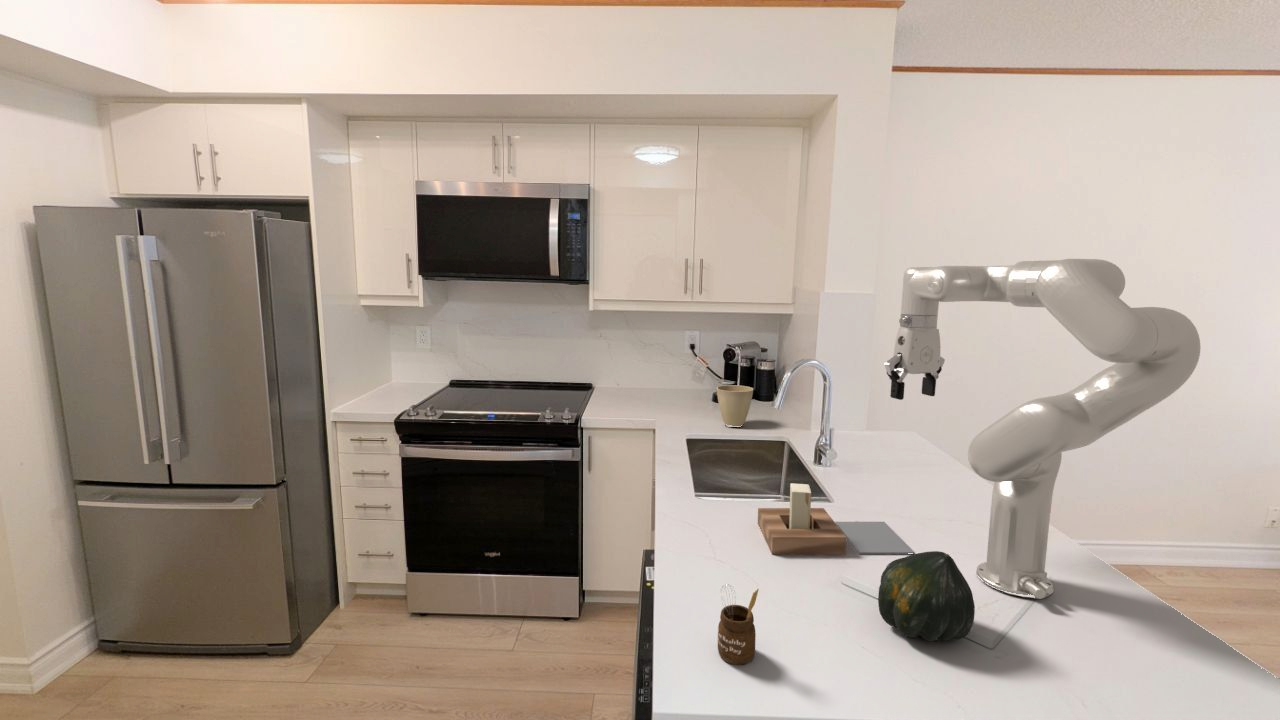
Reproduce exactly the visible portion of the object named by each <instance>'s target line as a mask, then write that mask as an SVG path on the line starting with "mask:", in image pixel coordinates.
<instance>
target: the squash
mask: <svg viewBox="0 0 1280 720" xmlns="http://www.w3.org/2000/svg"><path fill="white" fill-rule="evenodd" d="M877 595H878V597H877V603H878V609H879V613H880V616H881V618H882V620H883V621H884V622H885V623H886V624H887V625H888V626H890V627H892V628H894V629H897V630H898V631H899V632H900V633H901V635H903V636H907V637H909V638H916V637H918V636H921V637H922V638H923V640H925V641H928V642H936V640H937V641H948V640H953V641H955V640H961V639H963V638H965V637H966V636H968V635H969V634H970V633H971V632H970V631H971V630H972V628H973V625H974V620H975V614H976V613H975V612H976V611H975V609H976V608H975V601H974V596H973V591H972V590H971V587H970V584H969V583H968V581H967V580H966V578H965V576H964V575H963V573H962V572H961V570H960V569H959V567H958V565H957V564H956V562H955V560H954V559H953V558H952V556H950V554H948V553H946V552H944V551H938V550H936V551H935V550H933V551H924V552H918V553H915V554H914V555H907V556H904V557H900V558H898V559H895V560H892V561H890V562H889V563H888V564H887V565H886V566H885V569H884V570H883V572H882V573H881V576H880V585H879V587H878V594H877Z"/></svg>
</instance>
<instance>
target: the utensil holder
mask: <svg viewBox="0 0 1280 720" xmlns="http://www.w3.org/2000/svg"><path fill="white" fill-rule="evenodd" d="M728 587H730V591H731V593H732V594H735V593H736V591H735V588H734V587H732V585H731V584H729V583H728V584H723V585H721V589H720V592H722V591H723V590H726V589H727V591H728V593H730V591H729V588H728ZM722 589H723V590H722ZM727 591H726V592H725V593H726V595H728V596H729V598H731V597H732V598H731V599H732V602H731V601H730V602H729V603H730V605H729V603H727V604H728V605H726V603H725V602H726V600H725V597H724V596H721V598H720V599H721V601H722V606H723V608H722V609H721V611H720V616H719V617H720V618H719V619H720V620H719V623H718V626H717V652H718V654H719V656H720V658H721V659H722V660H724V661H725V662H727V663H729V664H731V665H745V664H746V665H747V664H748V663H750V662H751V661H752V660H753V659H754V657H755V653H756V635H757V634H756V628H755V627H756V626H755V623H754V614H753V612H752V610H753V608H754V606H755V603H756V602H757V601H756V600H757V597H758V593H759V588H757V589H756V590H755V591H754V592H753V593H752V596H751V599H750V601H749V605H748V607H746V606H743V605H740V604H737V601H734V600H736V598H737V597H736V595H734V596H731V594H728V593H727ZM730 596H731V597H730ZM733 597H734V598H733ZM727 601H729V600H728V598H727ZM733 603H734V604H733Z"/></svg>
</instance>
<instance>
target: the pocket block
mask: <svg viewBox="0 0 1280 720" xmlns="http://www.w3.org/2000/svg"><path fill="white" fill-rule="evenodd" d="M789 515H790V507H758V508H757V525H758V527H760V528H759V529H761V530H760V532H761V534H762V536H763V538H764V540H765V543H766V545H767V546H768V550H769V551H770V553H771V555H774V556H775V555H779V556H781V555H783V556H784V555H785V556H786V555H792V556H793V555H794V556H795V555H802V556H803V555H807V556H809V555H812V556H813V555H827V556H828V555H839V556H840V555H842V556H843V555H846V554H847V553H846V551H847V538H846V536H845V535H844V533H843V532H842V531H841V530H840V528H839V527H838V526H837V525H836V523H835V522H836V521H834V519H833V518H832V517H831V516H830V515H829V513H828V512H827V510H826V509H825V508H824V507H811V509H810V529H789Z"/></svg>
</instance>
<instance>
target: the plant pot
mask: <svg viewBox="0 0 1280 720" xmlns="http://www.w3.org/2000/svg"><path fill="white" fill-rule="evenodd" d="M753 394H754V387H750V386H747V385H746V386H745V385H740V384H739V385H736V384H735V385H732V384H728V385H726V384H725V385H719V386H716V396H717V402H718V406H719V411H720V415H721V417H722V421H723V424H724V423H725V424H727V425H732V426H741V425H743V424H745V422H746V420H747V417H748V415H749V411H750V408H751V403H752V401H753V400H752V399H753ZM743 426H744V425H743Z"/></svg>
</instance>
